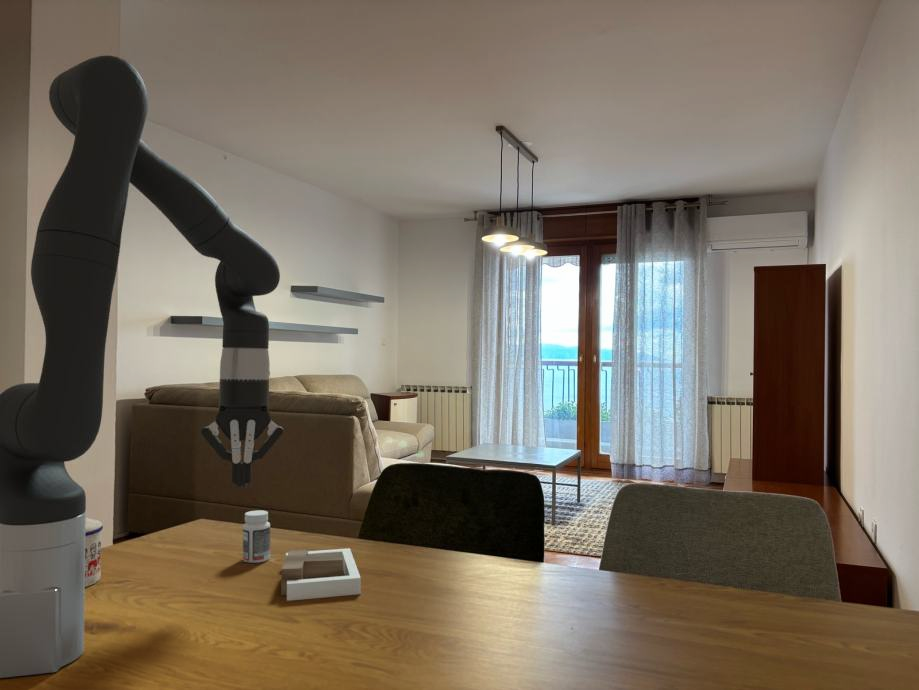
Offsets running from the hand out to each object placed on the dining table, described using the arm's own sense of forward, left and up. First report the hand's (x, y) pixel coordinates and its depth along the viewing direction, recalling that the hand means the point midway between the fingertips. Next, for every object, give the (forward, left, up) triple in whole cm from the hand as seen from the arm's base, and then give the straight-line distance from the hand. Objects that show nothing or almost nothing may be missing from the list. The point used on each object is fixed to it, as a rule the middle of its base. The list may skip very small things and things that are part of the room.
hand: (241, 486), depth 105 cm
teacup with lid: (+10, +26, -16) cm, 32 cm away
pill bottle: (+14, -2, -16) cm, 22 cm away
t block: (-1, -11, -16) cm, 20 cm away
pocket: (0, -12, -16) cm, 20 cm away
